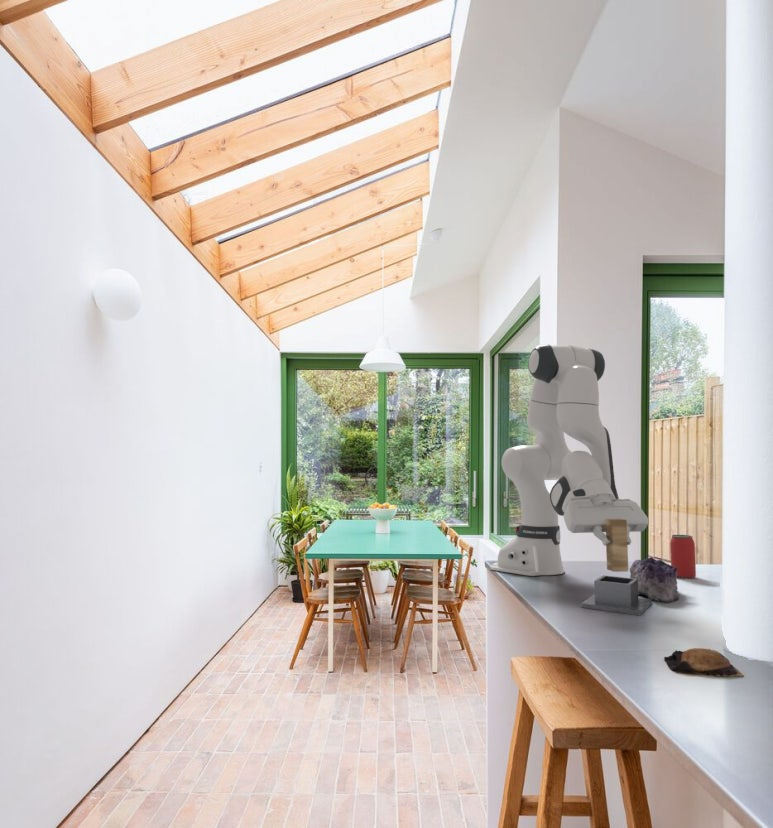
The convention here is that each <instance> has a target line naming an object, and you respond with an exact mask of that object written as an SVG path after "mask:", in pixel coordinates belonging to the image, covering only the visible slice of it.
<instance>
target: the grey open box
mask: <svg viewBox="0 0 773 828" xmlns="http://www.w3.org/2000/svg"><path fill="white" fill-rule="evenodd" d="M593 582H594V583H593V584H594V593H593V595H591V596H590V597H588V598H587V599H585V600H584V601H582V602H581V608H584V609H589V610H590V609H591V610H599V611H605V612H606V611H607V612H612V613H619V614H621V613H622V614H628V615H636V616H641V615H642V614H643V613H645V611H646V610H647V609H648V608H649V607H650V606H652V604H653V603H652V602H653V601H652V600H651V599H649V598H644V597H643V598H642V597H639V594H638V579H634V578H630V577H622V576H612V575H601V576H600V577H599V578H596V579H595V580H594V581H593Z"/></svg>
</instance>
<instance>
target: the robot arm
mask: <svg viewBox="0 0 773 828" xmlns="http://www.w3.org/2000/svg"><path fill="white" fill-rule="evenodd" d="M605 362H606V361H605V358H604V355H603V353H602V352H600V351H599V350H595V349H592V348H585V347H581V346H574V345H562V344H561V345H556V344H554V345H551V344H547V343H546V344H539V345H536V346H534V348H533V349H532V350H531V352H530V354H529V359H528V370H529V371H528V372H529V373H530V374H531V376H532V378H534V382H533V385H532V388H531V393H530V398H529V403H528V410H527V418H526V424H527V427H528V428H529V429H530V430H531V431H532V432H533V433H534V435H535V439H536V440H535V445H534V444H531V445H530V444H528V445H527V444H521V445H517V446H513V447H509V448H507V449H506V450H505V451H504V453H502V454H503V455H502V457H501V468H502V471H503V473H504V474H505V476H506V477H507V478H508V479H510V480H511V482H512V483H513V485H514V486H515V488H516V490H517V493H518V496H519V500H520V510H521V513H520V514H521V524H519V525H518V526H516V527H514V532H515V533H516V534H515V535H516V536H515V537H513V538H512V539H511V540H509V541H508V542H506V543H505V544H504V545H503V546H502V547H501V548H500V549H499V552H498V553H497V554H498V555H497V561H496V562H494V563H492V564H491V565H490V570H491V571H497V572H502V573H503V572H504V573H510V574H514V575H516V574H517V575H523V576H531V577H535V576H536V577H537V576H554V575H562V574H564V573H565V572H566V570H565V568H564V564H563V561H562V555H561V554H562V553H561V546H560V544H561V528H560V525H559V516H561V517H563V519H564V523H565V526H566V528H567V530H568V531H569V532H570V533H572V534H583V533H585V534H586V533H590V534H591V533H593V535H594V536H595V537H596V538H597V539H598V540H600V541H601V542H602V544H603V546H605V547H606V545H611V543H612V540H611V539H610V536H606V523H605V519H624V520H627V546H629V545H631V544H632V539H631V537H630V533H634V532H645V530H646V528H647V527H648V525H649V521H650V520H649V518H648V516H647V515H646V514H645V512H644V510H643V509H642V508H641V507H640V505H639V504H638V502H636V501H633V500H631V499H629V498H624V499H623V498H622V499H621V498H619V495H618V494H619V493H618V490H617V486H616V481H615V472H614V462H613V451H612V443H611V438H610V434H609V430H608V429H607V428H606V427H605V426H604V425H603V423H602V420H601V418H600V412H599V405H600V403H599V402H600V401H599V400H600V397H599V395H600V394H599V393H600V392H599V383H598V381H600V380H601V378H602V377H603V375H604V373H605V369H606V363H605ZM565 434H566V435H567V436H569V437H571V438H572V439H574V440H576V441H578V442H580V443H581V444H583V445H584V446H586V447H587V449H588V451H589V452H590V453H591V454H590V453H589V452H588V451H585V450H584V451H583V450H574V451H571V450H570V449H569V447H568V446H567V443H566V442H567V441H566V439H565ZM545 481H556V482H555V483H554V485H553V486H552V487H551V490H550V492H549V491H548V489H547V486H546V483H545Z"/></svg>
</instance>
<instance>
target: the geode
mask: <svg viewBox="0 0 773 828" xmlns="http://www.w3.org/2000/svg"><path fill="white" fill-rule="evenodd" d="M676 571H677V568H675V566H673V567H672V566H671V564H669V563H666V562H665V561H664V560H662V559H655V558H654V557H652V556H651V557H647V558H644V559H642V560H641V559H635V560H634V561H633V563H632V564H631V566H630V567H629V572H630V575H629V578H634V579H638V595H641V596H645V597H647V599H651V600H652V602H654V603H659V604H661V603H662V604H670V603H673V602H674V603H675V602H676V601H678V600H679V594H678V590H679V588H678V585H677V584H678V581H677V580H678V578H677V572H676Z"/></svg>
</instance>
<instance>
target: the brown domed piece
mask: <svg viewBox="0 0 773 828" xmlns="http://www.w3.org/2000/svg"><path fill="white" fill-rule="evenodd" d="M663 658H664V659H663V661H664V662H665V664H666V665H667V667H668V669H669V670H671V671H673V672H675V674H680V675H688V676H690V675H691V676H698V677H699V676H701V677H702V676H704V677H717V678H718V677H722V678H744V676H745V675H744V674H743V673H742V672H741V671H740V670H739V669H738V668H736V667H735V666H734V665H733V664H732V663H731V662H730V660H729V659H728V658H727V657H726V656H724V655H723V654H722V653H721V652H719V651H717V650H714V649H710V648H700V647H699V648H698V647H694V648H688V649H687V650H684V651H682V650H676V649H675V650H674V651H673V652H672V653H671V654H670V655H669V656H665V657H663Z"/></svg>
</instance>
